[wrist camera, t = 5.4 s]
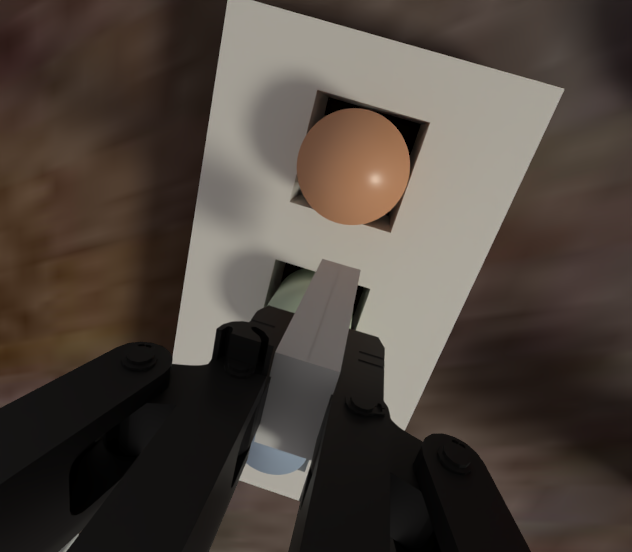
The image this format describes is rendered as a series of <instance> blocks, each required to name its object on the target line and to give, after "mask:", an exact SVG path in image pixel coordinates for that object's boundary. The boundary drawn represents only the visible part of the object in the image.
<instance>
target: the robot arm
mask: <svg viewBox="0 0 632 552" xmlns="http://www.w3.org/2000/svg"><path fill="white" fill-rule="evenodd" d="M360 271H361V270H359V269H356V268H353V267H349V266H346V265H342V264H339V263H335V262H332V261H328V260H325V259H322V260H321V262H320V264H319V266H318V268H317V270H316V272H315V274H314V276H313V278H312V280H311V282H310V284H309V286H308V288H307V290H306V292H305V294H304V296H303V298H302V300H301V302H300V304H299V306H298V308H297V310H296V312H295V313H293V312H289V311H286V310H283V309H279V308H276V307H273V306H269V305H268V306H266V307H264V308H262V309H260V310H258V311H257V312H256V313H255V315H254V316H253V317H252V319H251V321H250V322H245V321H232V322H229V323H225V324H222V325H221V326H220V327H218V328H217V329H216V335H215V341H214V348H213V354H212V359H211V361H210V362H209V363H208V364H205V365H181V364H172V361H173V358H172V356H171V354H170V352H169V351H168V350H167V349H165V348H164V347H163V346H160V345H157V344H154V343H148V342H135V343H127V344H125V345H122V346H119V347H117V348H115V349H113V350H111V351H109V352H107V353H105V354H103V355H101V356H99V357H97V358H95V359H94V360H92V361H90V362H88V363H86V364H84V365H82V366H80V367H78V368H76V369H74V370H73V371H71V372H69V373H67V374H65V375H63V376H61V377H59V378H57V379H55V380H53V381H51V382H50V383H48V384H46V385H44V386H42V387H40V388H38V389H36V390H34V391H32V392H30V393H28V394H27V395H25V396H23V397H21V398H19V399H17V400H15V401H13V402H11V403H9V404H7V405H5V406H4V407H2V408H0V552H59V551H60V550H61V549H62V548H63V547H64V546H65V545H66V544H68V543H69V542H70V541H71V540H72V539H73V538H74V537H75V536H76V535H77V534H78V533H79V532H81V533H80V534H79V535H78V537H77V538H76V539H75V541H74V542H73V543H72V545H71V546H70V547H69V549H68V550H67V551H66V552H209V550H210V547H211V545H212V543H213V540H214V538H215V536H216V533H217V531H218V528H219V526H220V524H221V521H222V519H223V517H224V514H225V512H226V509H227V507H228V505H229V502H230V500H231V498H232V495H233V493H234V490H235V488H236V486H237V483H238V481H239V479H240V476H241V474H242V471H243V469H244V467H245V464H246V462H247V460H248V455H249V451H250V447H251V443H252V441H253V439H254V436H255V434H256V436H255V440H254V442H257V443H260V444H263V445H266V446H269V447H272V448H275V449H278V450H281V451H284V452H287V453H290V454H293V455H296V456H299V457H302V458H305V459H308V460H311V465H310V468H309V471H308V474H307V477H306V480H305V483H304V486H303V490H302V493H301V496H300V499H299V501H300V506H299V510H298V514H297V518H296V522H295V527H294V531H293V535H292V539H291V543H290V547H289V552H531V551H530V549H529V547H528V545H527V543H526V541H525V540H524V538H523V536H522V534H521V532H520V530H519V528H518V526H517V524H516V523H515V521H514V519H513V517H512V515H511V513H510V511H509V509H508V507H507V506H506V504H505V502H504V500H503V498H502V496H501V494H500V492H499V490H498V489H497V487H496V485H495V483H494V481H493V479H492V477H491V475H490V473H489V472H488V470H487V468H486V466H485V464H484V462H483V461H482V460H481V458H480V457H479V455H478V454H477V453H476V452H475V451H474V450H473V449H472V448H471V447H469V446H468V445H467V444H466V443H464V442H462V441H461V440H459V439H457V438H455V437H453V436H449V435H446V434H431V435H429V436H428V437H426V438H425V439H424V441H423V442H422V441H421V440H419V439H417V438H415V437H414V436H412V435H410V434H408V433H407V432H405V431H404V430H402V429H401V428H400V427H398V426H397V425H396V424H395V423H394V422H393V421H392V420H391V418H390V412H389V409H388V406H387V405H386V403H385V402H384V359H385V348H384V346H383V344H382V343H381V341H380V339H379V337H376V336H373V335H369V334H366V333H363V332H359V331H356V330H353V329H349V326H350V321H351V316H352V311H353V306H354V301H355V296H356V291H357V286H358V281H359V276H360Z"/></svg>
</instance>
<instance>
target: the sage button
mask: <svg viewBox="0 0 632 552" xmlns="http://www.w3.org/2000/svg"><path fill="white" fill-rule="evenodd" d="M314 274H315V271H312V270H308V269H305V268H304V269H300V270H297V271H295V272H293V273H292V274H290V275H289V276H287V277H286V278H285V279H284V281H283V282H282V283H281V285H280V286H279V288H278V289H277V291H276V292H275V294H274V296H273V297H272V299H271V300H270V302H269V303H268V305H269V306H273V307H276V308H279V309H283V310H286V311H289V312H293V313H295V312H296V310H297V308H298V306H299V304H300V302H301V300H302V298H303V296H304V294H305V292H306V290H307V288H308V286H309V284H310V282H311V280H312V278H313V276H314ZM268 305H267V306H268ZM353 309H354V306H353ZM352 316H353V311H352ZM352 316H351V321H350V326H349V329H351V323H352Z"/></svg>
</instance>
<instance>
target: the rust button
mask: <svg viewBox="0 0 632 552" xmlns="http://www.w3.org/2000/svg"><path fill="white" fill-rule="evenodd" d="M409 173H410V158H409V152H408V148H407V145H406V143H405V140H404V138H403V137H402V135H401V133H400V132H399V130H398V129H397V128H396V127H395V126H394V125H393V124H392V123H391V122H390V121H389V120H388V119H386V118H385V117H384V116H382V115H380V114H378V113H376V112H373V111H370V110H366V109H360V108H349V109H343V110H339V111H336V112H333V113H331V114H329V115H327V116H325V117H324V118H322V119H321V120H319V121H318V122H317V123H316V124H315V125H314V126H313V127H312V128H311V129H310V131H309V132H308V133H307V135H306V136H305V138H304V140H303V142H302V144H301V146H300V150H299V153H298V158H297V178H298V183H299V186H300V189H301V191H302V193H303V196H304V197H305V199H306V200H307V202H308V203H309V205H310V206H311V207H312V208H313V209H314V210H315V211H316V212H317V213H318V214H320V215H321V216H323V217H324V218H326V219H328V220H330V221H333V222H335V223H339V224H344V225H360V224H366V223H369V222H372V221H374V220H377V219H379V218H380V217H382V216H384V215H385V214H386V213H388V212H389V211H390V210H391V209H392V208H393V207H394V206H395V205H396V204H397V202H398V201H399V200H400V198H401V196H402V195H403V193H404V191H405V188H406V186H407V183H408V179H409Z"/></svg>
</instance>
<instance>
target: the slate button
mask: <svg viewBox="0 0 632 552" xmlns="http://www.w3.org/2000/svg"><path fill="white" fill-rule="evenodd" d="M255 436H256V434H255ZM255 436H254V439H253V441H252V443H251V447H250V451H249V455H248V460H247V462H246V463H247V464H248V465H249V466H251V467H252V468H254V469H256V470H258V471H260V472H263V473H267V474H272V475H283V474H288V473H291V472H294V471H296V470H297V469H299V468H300V467H301V466H302V465H303V464H304V462H305V461H306V459H305V458H302V457H299V456H296V455H293V454H290V453H287V452H284V451H281V450H278V449H275V448H272V447H269V446H266V445H263V444H260V443H257V442H254V440H255Z"/></svg>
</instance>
